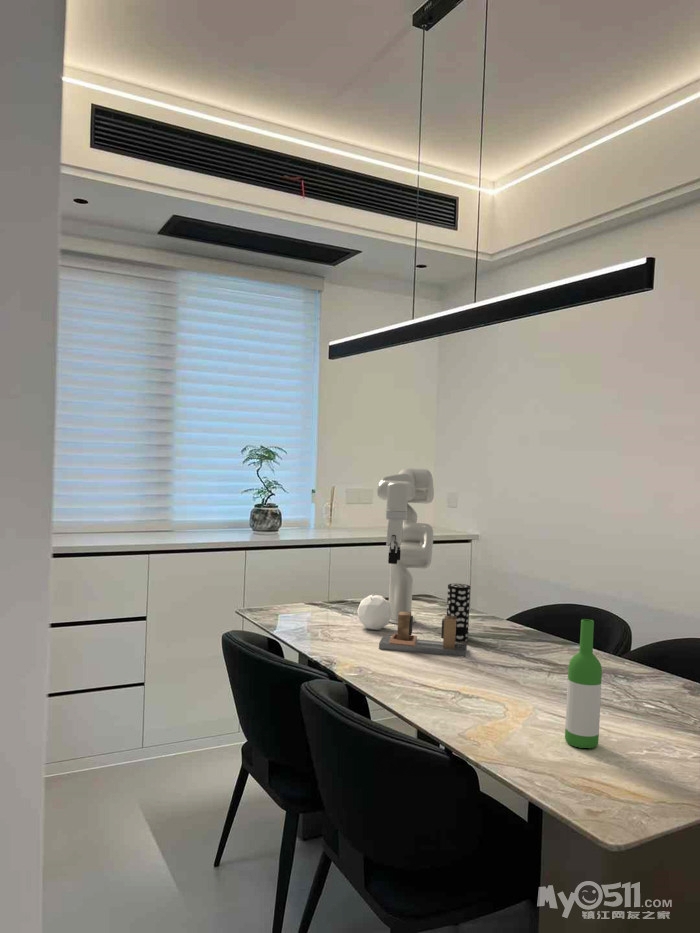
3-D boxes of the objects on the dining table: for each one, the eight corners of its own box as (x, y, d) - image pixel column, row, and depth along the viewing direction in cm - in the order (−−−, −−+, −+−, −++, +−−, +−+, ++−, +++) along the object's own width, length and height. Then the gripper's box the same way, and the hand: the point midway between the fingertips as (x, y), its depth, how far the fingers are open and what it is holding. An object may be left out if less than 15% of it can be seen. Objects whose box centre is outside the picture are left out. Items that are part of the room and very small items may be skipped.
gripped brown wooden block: (396, 642, 250) (398, 614, 250) (398, 639, 255) (399, 611, 255) (410, 644, 249) (411, 615, 249) (412, 640, 254) (413, 612, 254)
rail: (382, 641, 259) (384, 608, 258) (466, 649, 253) (468, 615, 253) (378, 648, 249) (380, 614, 249) (465, 657, 243) (467, 622, 243)
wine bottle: (591, 738, 176) (597, 617, 176) (603, 751, 168) (609, 624, 168) (560, 737, 176) (566, 615, 175) (570, 750, 168) (577, 623, 168)
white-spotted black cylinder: (461, 643, 262) (463, 588, 262) (441, 638, 267) (443, 585, 267) (471, 638, 268) (474, 585, 268) (452, 634, 274) (454, 582, 273)
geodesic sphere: (389, 621, 266) (392, 588, 274) (352, 618, 268) (357, 585, 276) (391, 637, 277) (394, 605, 285) (356, 634, 280) (360, 602, 288)
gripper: (389, 513, 274) (387, 557, 274) (383, 516, 257) (381, 564, 257) (408, 514, 272) (406, 559, 272) (403, 518, 255) (401, 565, 255)
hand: (394, 561), depth 265 cm, fingers open, 9 cm apart
